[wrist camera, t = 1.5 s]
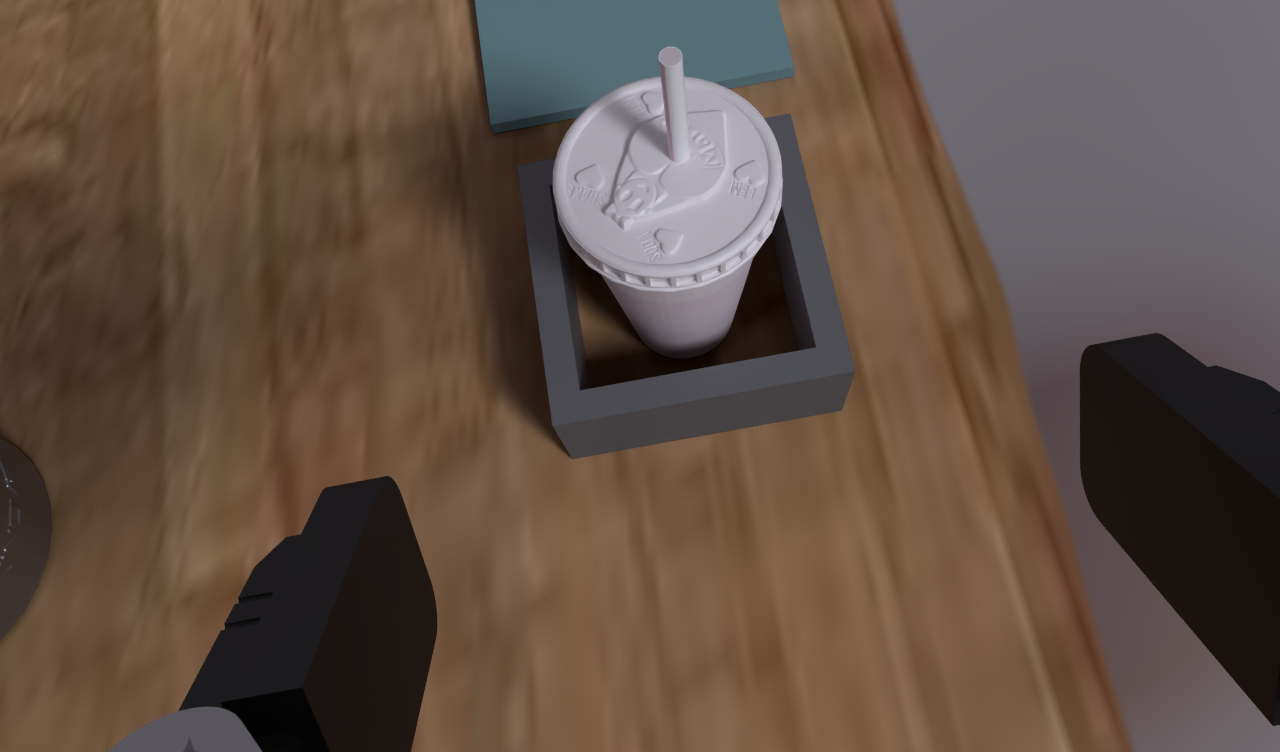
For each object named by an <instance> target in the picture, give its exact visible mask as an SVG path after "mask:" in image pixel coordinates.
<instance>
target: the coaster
mask: <svg viewBox="0 0 1280 752" xmlns="http://www.w3.org/2000/svg"><path fill="white" fill-rule="evenodd" d="M475 7H476V14H477V22H478V30H479V38H480V46H481V54H482V61H483V69H484V77H485V85H486V93H487V100H488V108H489V116H490V124H491V127H492V129H493V132H494V133H499V132H504V131H510V130H515V129H520V128H525V127H531V126H536V125H541V124H546V123H552V122H557V121H562V120H567V119H573V118H578V116H579V115H580V114H581V113H582V112H583V111H584V110H585V109H586V108H588V107H589V106H590V105H591V104H592V103H593V102H595V101H596V100H598V99H599V98H600V97H602V96H604V95H605V94H607V93H609V92H610V91H612V90H614V89H616V88H618V87H621V86H623V85H626V84H628V83H631V82H635V81H638V80H642V79H647V78H652V77H660V76H661V74H660V65H659V53H660V52H661V51H662V50H663V49H664V48H666V47H676V48H678V49H679V50H680V51H681V52H682V57H683V70H684V76H685V77H693V78H698V79H703V80H706V81H710V82H713V83H716V84H718V85H721V86H723V87H725V88H727V89H731V88H736V87H741V86H746V85H752V84H757V83H762V82H767V81H773V80H778V79H783V78H788V77H793V73H794V65H793V61H792V57H791V53H790V50H789V46H788V42H787V38H786V34H785V30H784V26H783V23H782V19H781V15H780V11H779V7H778V3H777V0H475Z"/></svg>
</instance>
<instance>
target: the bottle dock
mask: <svg viewBox="0 0 1280 752" xmlns="http://www.w3.org/2000/svg"><path fill="white" fill-rule="evenodd" d="M764 119H765V121H766V122H767V124H768V125H769V127H770V129H771V130H772V132H773V134H774V136H775V139H776V142H777V144H778V147H779V151H780V155H781V162H782V178H783V186H782V202H781V209H780V211H779V214H778V217H777V219H776V222H775V225H774V227H773V230H772V233H771V237H772V241H773V245H774V249H775V254H776V258H777V262H778V267H779V271H780V275H781V279H782V284H783V288H784V292H785V297H786V301H787V305H788V309H789V314H790V318H791V322H792V327H793V331H794V335H795V339H796V344H797V348H798V351H794V352H788V353H783V354H777V355H772V356H766V357H761V358H755V359H750V360H744V361H739V362H733V363H728V364H722V365H717V366H711V367H706V368H700V369H695V370H689V371H684V372H678V373H673V374H667V375H662V376H656V377H651V378H645V379H640V380H635V381H629V382H624V383H618V384H613V385H607V386H602V387H596V388H591V389H590V383H589V377H588V370H587V364H586V357H585V351H584V344H583V337H582V331H581V324H580V318H579V311H578V305H577V298H576V292H575V285H574V278H573V272H572V265H571V259H570V252H569V246H568V240H567V238H566V236H565V234H564V232H563V230H562V228H561V226H560V224H559V221H558V214H557V208H556V202H555V198H554V192H553V170H554V164H555V159H556V158H553V159H547V160H542V161H537V162H532V163H526V164H521V165H517V170H518V177H519V184H520V192H521V199H522V206H523V214H524V221H525V228H526V236H527V243H528V250H529V258H530V265H531V272H532V280H533V287H534V294H535V302H536V309H537V316H538V324H539V331H540V338H541V346H542V353H543V360H544V367H545V375H546V382H547V389H548V397H549V404H550V411H551V419H552V426H553V428H554V430H555V431H556V433H557V435H558V436H559V438H560V440H561V441H562V443H563V445H564V446H565V448H566V450H567V451H568V453H569V455H570V456H571V458H572V459H575V458H580V457H586V456H592V455H597V454H603V453H608V452H614V451H619V450H625V449H630V448H636V447H641V446H647V445H653V444H658V443H664V442H669V441H675V440H680V439H686V438H691V437H697V436H702V435H708V434H714V433H719V432H725V431H730V430H736V429H741V428H747V427H752V426H758V425H763V424H769V423H775V422H780V421H786V420H791V419H797V418H802V417H808V416H813V415H819V414H824V413H830V412H836V411H841V410H842V408H843V406H844V403H845V400H846V397H847V394H848V391H849V388H850V385H851V382H852V380H853V377H854V374H855V368H854V364H853V360H852V356H851V352H850V348H849V344H848V340H847V336H846V332H845V328H844V324H843V320H842V317H841V313H840V309H839V305H838V301H837V297H836V293H835V289H834V285H833V281H832V277H831V273H830V269H829V265H828V261H827V257H826V253H825V249H824V245H823V241H822V237H821V234H820V230H819V226H818V222H817V218H816V214H815V210H814V206H813V202H812V198H811V194H810V190H809V186H808V182H807V178H806V174H805V170H804V166H803V162H802V158H801V154H800V150H799V147H798V143H797V139H796V135H795V131H794V127H793V123H792V119H791V115H790V114H785V115H780V116H775V117H770V118H764Z"/></svg>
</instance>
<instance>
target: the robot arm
mask: <svg viewBox="0 0 1280 752" xmlns="http://www.w3.org/2000/svg"><path fill="white" fill-rule="evenodd" d="M1080 469H1081V477H1082V482H1083V486H1084V490H1085V493H1086V496H1087V499H1088V502H1089V504H1090V506H1091V508H1092V510H1093V512H1094V514H1095V515H1096V517H1097V518H1098V520H1099V521H1100V522H1101V523H1102V524H1103V526H1104V527H1105V528H1106V529H1107V531H1108V532H1109V533H1110V534H1111V535H1112V536H1113V538H1114V539H1115V540H1116V541H1117V542H1118V544H1120V546H1121V547H1122V548H1123V549H1124V551H1125V552H1126V553H1127V554H1128V555H1129V556H1130V558H1131V559H1132V560H1133V561H1134V562H1135V564H1136V565H1137V566H1138V567H1139V568H1140V569H1141V571H1142V572H1143V573H1144V574H1145V575H1146V576H1147V578H1148V579H1149V580H1150V581H1151V582H1152V584H1153V585H1154V586H1155V587H1156V588H1157V590H1159V592H1160V593H1161V594H1162V595H1163V597H1164V598H1165V599H1166V600H1167V601H1168V602H1169V604H1170V605H1171V606H1172V607H1173V608H1174V610H1175V611H1176V612H1177V613H1178V614H1179V616H1180V617H1181V618H1182V619H1183V620H1184V621H1185V623H1186V624H1187V625H1188V626H1189V627H1190V628H1191V630H1192V631H1193V632H1194V633H1195V634H1196V636H1197V637H1198V638H1199V639H1200V640H1201V641H1202V643H1203V644H1204V645H1205V646H1206V647H1207V649H1208V650H1209V651H1210V652H1211V653H1212V654H1213V656H1214V657H1215V658H1216V659H1217V660H1218V662H1219V663H1220V664H1221V665H1222V666H1223V667H1224V669H1225V670H1226V671H1227V672H1228V673H1229V675H1230V676H1231V677H1232V678H1233V679H1234V680H1235V682H1236V683H1237V684H1238V685H1239V686H1240V688H1241V689H1242V690H1243V691H1244V692H1245V693H1246V695H1247V696H1248V697H1249V698H1250V699H1251V700H1252V702H1253V703H1254V704H1255V705H1256V706H1257V708H1258V709H1259V710H1260V711H1261V712H1262V713H1263V715H1264V716H1265V717H1266V718H1267V719H1268V721H1269V722H1270V723H1271V724H1272V725H1273V726H1276V725H1280V392H1279V391H1277V390H1276V389H1274V388H1273V387H1271V386H1270V385H1268V384H1267V383H1265V382H1264V381H1261V380H1258V379H1255V378H1252V377H1249V376H1246V375H1243V374H1240V373H1237V372H1234V371H1231V370H1228V369H1225V368H1222V367H1219V366H1217V365H1216V366H1211V367H1207V366H1205V365H1204V364H1203V363H1201V362H1200V361H1199V360H1197V359H1196V358H1194V357H1193V356H1192V355H1190V354H1189V353H1187V352H1186V351H1185V350H1183V349H1182V348H1180V347H1179V346H1178V345H1176V344H1175V343H1173V342H1172V341H1171V340H1169V339H1168V338H1167V337H1165V336H1163V335H1162V334H1159V333H1153V334H1147V335H1142V336H1137V337H1131V338H1126V339H1121V340H1115V341H1110V342H1105V343H1100V344H1094V345H1090V346H1088V347H1087V348H1086V349H1085V350H1084V352H1083V354H1082V358H1081V363H1080ZM51 532H52V528H51V511H50V503H49V499H48V496H47V493H46V489H45V486H44V482H43V480H42V479H41V477H40V475H39V474H38V472H37V470H36V469H35V467H34V465H33V464H32V462H31V461H30V460H29V459H28V458H27V457H26V456H25V455H24V454H23V453H22V452H21V451H20V450H19V449H18V448H17V447H16V446H14V445H12V444H10V443H9V442H7V441H5V440H3V439H1V438H0V639H2V638H3V637H4V636H5V634H6V633H7V632H8V631H9V629H10V628H11V627H12V626H13V624H14V623H15V622H16V621H17V619H18V618H19V617H20V616H21V614H22V613H23V612H24V610H25V608H26V606H27V605H28V603H29V601H30V599H31V597H32V596H33V594H34V592H35V590H36V588H37V587H38V584H39V581H40V578H41V576H42V573H43V570H44V567H45V564H46V561H47V558H48V552H49V545H50V538H51ZM238 599H239V604H235V605H234V607H233V609H232V611H231V613H230V614H229V616H228V618H227V620H226V622H225V630H221V631H220V633H219V635H218V637H217V639H216V641H215V643H214V645H213V646H212V648H211V650H210V652H209V654H208V656H207V658H206V660H205V662H204V663H203V665H202V667H201V669H200V671H199V673H198V675H197V677H196V679H195V680H194V682H193V684H192V686H191V688H190V690H189V692H188V694H187V696H186V697H185V699H184V701H183V703H182V705H181V707H180V709H179V711H178V712H175V713H172V714H169V715H166V716H164V717H162V718H159V719H157V720H154V721H152V722H151V723H149V724H147V725H145V726H143V727H141V728H139V729H138V730H136V731H135V732H133V733H131V734H130V735H128V736H127V737H125V738H124V739H123V740H121V741H120V742H119V743H117V744H116V745H115V746H113V747H112V748H111V749H110V750H109V751H108V752H411V748H412V744H413V739H414V735H415V730H416V726H417V721H418V717H419V712H420V708H421V703H422V699H423V694H424V690H425V685H426V681H427V676H428V672H429V667H430V663H431V659H432V654H433V650H434V645H435V641H436V635H437V609H436V601H435V596H434V591H433V587H432V583H431V580H430V577H429V574H428V571H427V568H426V566H425V563H424V560H423V557H422V554H421V551H420V548H419V545H418V542H417V539H416V536H415V533H414V530H413V527H412V524H411V521H410V519H409V516H408V513H407V510H406V507H405V504H404V501H403V498H402V495H401V493H400V490H399V488H398V486H397V484H396V483H395V481H394V480H393V479H392V478H391V477H389V476H385V477H379V478H374V479H369V480H364V481H358V482H353V483H348V484H342V485H337V486H332V487H327V488H325V489H324V490H323V491H322V492H321V494H320V496H319V498H318V500H317V502H316V504H315V507H314V509H313V511H312V513H311V515H310V517H309V519H308V521H307V523H306V525H305V527H304V529H303V531H302V534H301V535H295V536H290V537H286V538H285V539H284V540H283V541H282V542H281V543H279V544H278V545H277V546H276V547H275V548H274V549H273V550H272V551H271V552H270V553H269V554H268V555H267V556H266V557H265V558H264V559H263V560H262V561H260V562H259V563H258V564H257V565H256V566H255V567H254V569H253V571H252V573H251V575H250V577H249V579H248V580H247V582H246V584H245V586H244V588H243V590H242V592H241V594H240V596H239V597H238Z"/></svg>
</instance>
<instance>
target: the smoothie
mask: <svg viewBox="0 0 1280 752" xmlns="http://www.w3.org/2000/svg"><path fill="white" fill-rule="evenodd" d="M659 65H660V74H661V76H660V77H652V78H647V79H642V80H638V81H635V82H631V83H628V84H626V85H623V86H621V87H618V88H616V89H614V90H612V91H610V92H609V93H607V94H605V95H604V96H602V97H600V98H599V99H598V100H596V101H595V102H593V103H592V104H591V105H590V106H589V107H588V108H586V109H585V110H584V111H583V112H582V113H581V114H580V115H579V116H578V118H577V119H576V120H575V121H574V123H573V124H572V125H571V126H570V128H569V130H568V131H567V133H566V134H565V136H564V138H563V140H562V142H561V144H560V147H559V149H558V152H557V156H556V159H555V164H554V170H553V192H554V198H555V202H556V208H557V214H558V221H559V224H560V226H561V228H562V230H563V232H564V234H565V236H566V238H567V240H568V242H569V245H570V246H571V247H572V249H573V250H574V251H575V252H576V253H577V254H578V255H579V256H580V257H581V259H582V260H583V261H584V262H585V263H586V264H587V265H588V266H589V267H590V268H592V269H593V270H595V271H597V272H598V273H600V274H601V275H602V277H603V278H604V280H605V282H606V283H607V285H608V286H609V288H610V290H611V291H612V293H613V295H614V296H615V298H616V299H617V301H618V303H619V304H620V306H621V308H622V309H623V311H624V312H625V314H626V316H627V317H628V319H629V320H630V322H631V324H632V325H633V327H634V329H635V330H636V332H637V333H638V335H639V337H640V338H641V339H642V341H643V342H644V343H645V344H646V345H647V346H648V347H649V348H651V349H652V350H654V351H655V352H657V353H659V354H661V355H664V356H667V357H671V358H679V359H684V358H692V357H697V356H700V355H703V354H705V353H707V352H709V351H710V350H712V349H714V348H715V347H716V346H717V345H718V344H719V343H721V341H722V340H723V339H724V338H725V336H726V335H727V333H728V331H729V329H730V327H731V324H732V321H733V318H734V315H735V312H736V309H737V306H738V303H739V300H740V297H741V294H742V291H743V288H744V285H745V281H746V278H747V275H748V272H749V269H750V266H751V263H752V260H753V257H754V256H755V254H756V253H757V252H758V250H759V249H760V248H761V246H762V245H763V243H764V242H765V241H766V239H767V238H768V237H769V235H770V234H771V233H772V230H773V227H774V225H775V222H776V219H777V217H778V214H779V211H780V209H781V202H782V186H783V178H782V162H781V155H780V151H779V147H778V144H777V142H776V139H775V136H774V134H773V132H772V130H771V129H770V127H769V125H768V124H767V122H766V121H765V119H764V118H763V117H762V116H761V114H760V113H759V112H758V111H757V110H756V109H755V108H754V107H753V106H752V105H751V104H750V103H749V102H747V101H746V100H745V99H744V98H742V97H741V96H739V95H738V94H736V93H735V92H733V91H731V90H729V89H727V88H725V87H723V86H721V85H718V84H716V83H713V82H710V81H706V80H703V79H698V78H693V77H685V76H684V70H683V57H682V52H681V51H680V50H679V49H678V48H676V47H666V48H664V49H663V50H662V51H661V52H660V53H659Z"/></svg>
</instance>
